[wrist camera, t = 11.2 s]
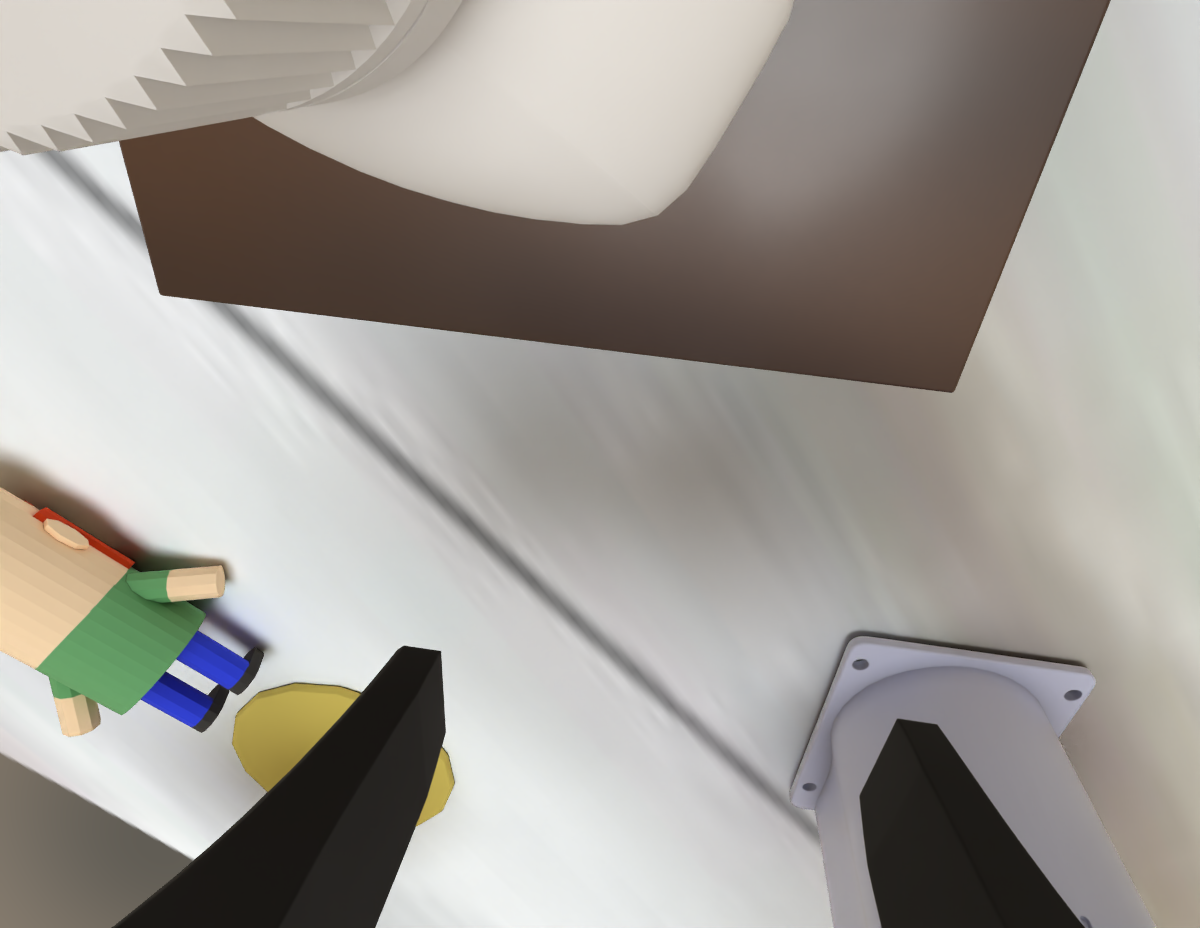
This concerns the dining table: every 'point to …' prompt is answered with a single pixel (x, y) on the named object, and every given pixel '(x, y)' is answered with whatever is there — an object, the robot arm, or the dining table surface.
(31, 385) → the dining table surface
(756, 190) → the shelf
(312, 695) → the candle
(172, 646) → the toy figurine
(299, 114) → the eye dropper bottle
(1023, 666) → the robot arm
